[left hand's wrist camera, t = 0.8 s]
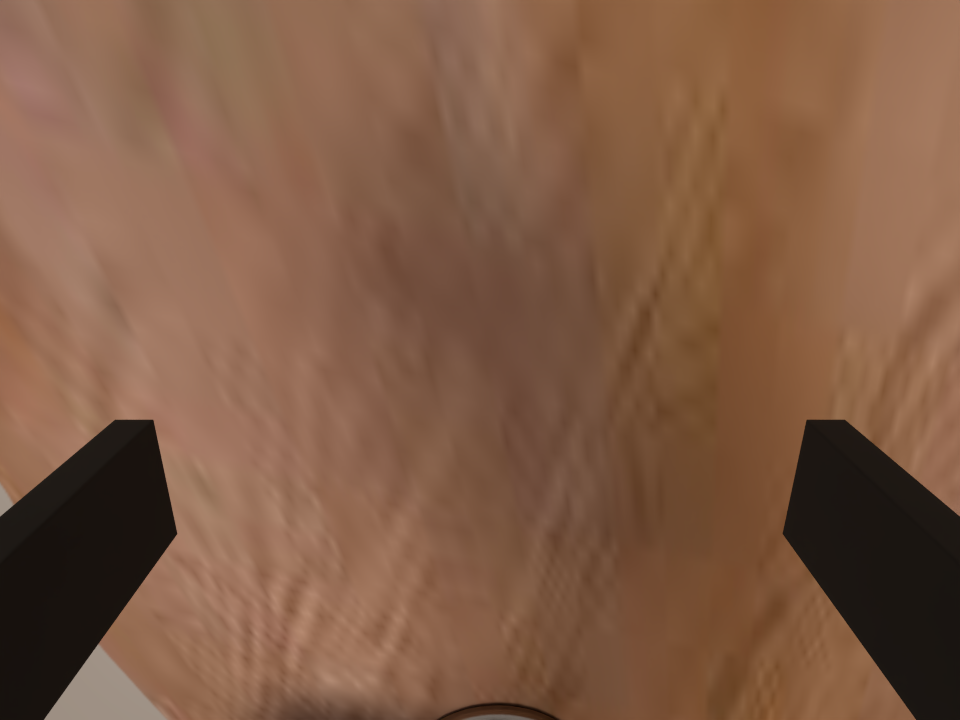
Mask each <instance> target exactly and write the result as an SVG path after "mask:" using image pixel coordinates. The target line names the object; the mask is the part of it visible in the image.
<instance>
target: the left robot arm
mask: <svg viewBox="0 0 960 720" xmlns="http://www.w3.org/2000/svg"><path fill="white" fill-rule="evenodd" d="M176 535H177V530H176V526H175V521H174V516H173V511H172V507H171V502H170V497H169V492H168V488H167V483H166V478H165V473H164V468H163V464H162V459H161V454H160V449H159V445H158V440H157V435H156V430H155V426H154V421H153V420H114V421H113V422H112V423H111V424H110V425H108V426H107V427H106V428H105V429H104V430H102V431H101V432H100V433H99V434H98V435H97V436H95V437H94V438H93V439H92V440H91V441H89V442H88V443H87V444H86V445H85V446H83V447H82V448H81V449H80V450H79V451H78V452H76V453H75V454H74V455H73V456H72V457H70V458H69V459H68V460H67V461H66V462H65V463H63V464H62V465H61V466H60V467H59V468H57V469H56V470H55V471H54V472H53V473H51V474H50V475H49V476H48V477H47V478H46V479H44V480H43V481H42V482H41V483H40V484H38V485H37V486H36V487H35V488H34V489H32V490H31V491H30V492H29V493H28V494H27V495H25V496H24V497H23V498H22V499H21V500H19V501H18V502H17V503H16V504H15V505H13V506H12V507H11V508H10V509H9V510H8V511H6V512H5V513H4V514H3V515H2V516H0V720H44V719H45V717H46V716H47V714H48V713H49V712H50V710H51V709H52V707H53V706H54V705H55V703H56V702H57V701H58V699H59V698H60V696H61V695H62V694H63V692H64V691H65V689H66V688H67V687H68V685H69V684H70V682H71V681H72V680H73V678H74V677H75V675H76V674H77V673H78V671H79V670H80V669H81V667H82V666H83V664H84V663H85V661H86V660H87V659H88V657H89V656H90V655H91V653H92V652H93V650H94V649H95V648H96V646H97V645H98V643H99V642H100V641H101V639H102V638H103V637H104V635H105V634H106V632H107V631H108V630H109V628H110V627H111V625H112V624H113V623H114V621H115V620H116V618H117V617H118V616H119V614H120V613H121V611H122V610H123V609H124V607H125V606H126V605H127V603H128V602H129V600H130V599H131V598H132V596H133V595H134V593H135V592H136V591H137V589H138V588H139V586H140V585H141V584H142V582H143V581H144V579H145V578H146V577H147V575H148V574H149V573H150V571H151V570H152V568H153V567H154V566H155V564H156V563H157V561H158V560H159V559H160V557H161V556H162V554H163V553H164V552H165V550H166V549H167V547H168V546H169V545H170V543H171V542H172V540H173V539H174V538H175V536H176ZM783 535H784V536H785V538H786V539H787V540H788V542H789V543H790V545H791V546H792V547H793V549H794V550H795V552H796V553H797V554H798V556H799V557H800V559H801V560H802V561H803V563H804V564H805V566H806V567H807V568H808V570H809V571H810V573H811V574H812V575H813V577H814V578H815V579H816V581H817V582H818V584H819V585H820V586H821V588H822V589H823V591H824V592H825V593H826V595H827V596H828V598H829V599H830V600H831V602H832V603H833V605H834V606H835V607H836V609H837V610H838V611H839V613H840V614H841V616H842V617H843V618H844V620H845V621H846V623H847V624H848V625H849V627H850V628H851V630H852V631H853V632H854V634H855V635H856V637H857V638H858V639H859V641H860V642H861V643H862V645H863V646H864V648H865V649H866V650H867V652H868V653H869V655H870V656H871V657H872V659H873V660H874V662H875V663H876V664H877V666H878V667H879V669H880V670H881V671H882V673H883V674H884V676H885V677H886V678H887V680H888V681H889V682H890V684H891V685H892V687H893V688H894V689H895V691H896V692H897V694H898V695H899V696H900V698H901V699H902V701H903V702H904V703H905V705H906V706H907V708H908V709H909V710H910V712H911V713H912V714H913V716H914V717H915V719H916V720H960V516H958V515H957V514H956V513H955V512H954V511H952V510H951V509H950V508H949V507H948V506H947V505H945V504H944V503H943V502H942V501H941V500H939V499H938V498H937V497H936V496H935V495H933V494H932V493H931V492H930V491H929V490H928V489H926V488H925V487H924V486H923V485H922V484H920V483H919V482H918V481H917V480H916V479H914V478H913V477H912V476H911V475H910V474H909V473H907V472H906V471H905V470H904V469H903V468H901V467H900V466H899V465H898V464H897V463H895V462H894V461H893V460H892V459H891V458H890V457H888V456H887V455H886V454H885V453H884V452H882V451H881V450H880V449H879V448H878V447H877V446H875V445H874V444H873V443H872V442H871V441H869V440H868V439H867V438H866V437H865V436H863V435H862V434H861V433H860V432H859V431H858V430H856V429H855V428H854V427H853V426H852V425H850V424H849V423H848V422H847V421H846V420H807V421H806V426H805V430H804V435H803V440H802V445H801V449H800V454H799V459H798V464H797V468H796V473H795V478H794V483H793V488H792V492H791V497H790V502H789V507H788V511H787V516H786V521H785V526H784V530H783ZM441 720H555V719H553V718H551V717H549V716H547V715H545V714H542V713H540V712H537V711H534V710H530V709H526V708H521V707H515V706H503V705H491V706H481V707H474V708H470V709H466V710H462V711H459V712H456V713H453V714H451V715H448V716H446V717H444V718H442V719H441Z"/></svg>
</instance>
